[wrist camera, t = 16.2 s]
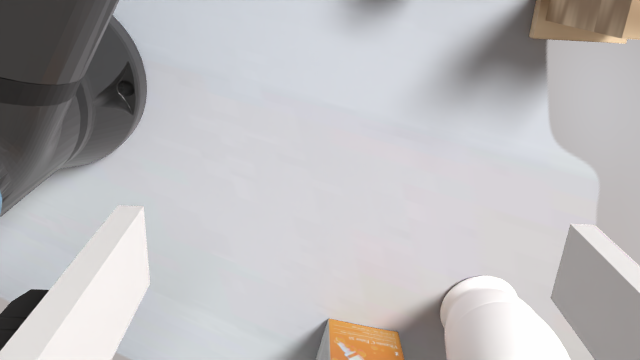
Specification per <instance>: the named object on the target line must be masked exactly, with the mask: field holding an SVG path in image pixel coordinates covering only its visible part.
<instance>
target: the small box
mask: <svg viewBox="0 0 640 360" xmlns="http://www.w3.org/2000/svg"><path fill="white" fill-rule="evenodd" d="M315 360H404V356H403V351H402V347H401V342H400V338H399V334H398V332H395V331H388V330H383V329H377V328H372V327H367V326H362V325H357V324H352V323H348V322H343V321H338V320H334V319H328V321H327V325H326V328H325V331H324V334H323V337H322V341H321V344H320V347H319V350H318V353H317V356H316V359H315Z"/></svg>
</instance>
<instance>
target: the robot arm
mask: <svg viewBox="0 0 640 360" xmlns="http://www.w3.org/2000/svg"><path fill="white" fill-rule="evenodd" d="M118 2H119V0H0V217H1V216H2V215H3V214H4V213H6V212H7V211H8V210H9V209H11V208H12V207H13V206H14V205H15V204H17V203H18V202H19V201H20V200H21V199H23V198H24V197H25V196H26V195H27V194H29V193H30V192H31V191H32V190H34V189H35V188H36V187H37V186H38V185H40V184H41V183H42V182H43V181H44V180H46V179H47V178H48V177H49V176H51V175H52V174H53V173H54V172H55V171H57V170H58V169H61V168H68V167H76V166H82V165H86V164H89V163H92V162H95V161H97V160H99V159H102V158H103V157H105V156H107V155H109V154H110V153H112V152H113V151H114V150H116V149H117V148H118V147H119V146H120V145H121V144H122V143H123V142H124V141H125V140H126V139H127V138H128V137H129V136H130V135H131V134H132V133H133V131H134V130H135V128H136V127H137V125H138V123H139V121H140V119H141V117H142V114H143V111H144V107H145V103H146V94H147V84H146V75H145V70H144V66H143V62H142V59H141V57H140V54H139V52H138V50H137V47H136V46H135V44H134V42H133V40H132V39H131V37H130V35H129V34H128V33H127V31H126V30H125V29H124V27H123V26H122V25H121V24H120V23H119V22H118V21H117V20H116V18H115V17H113V16H112V15H113V13H114V10H115V8H116V6H117V4H118ZM149 285H150V276H149V265H148V253H147V241H146V229H145V218H144V206H126V205H118V206H117V207H116V208H115V209H114V211H113V212H112V213H111V214H110V216H109V217H108V218H107V219H106V220H105V222H104V223H103V224H102V225H101V227H100V228H99V229H98V230H97V232H96V233H95V234H94V235H93V237H92V238H91V239H90V240H89V242H88V243H87V244H86V245H85V247H84V248H83V249H82V250H81V252H80V253H79V254H78V255H77V257H76V258H75V259H74V260H73V261H72V263H71V264H70V265H69V266H68V268H67V269H66V270H65V271H64V273H63V274H62V275H61V276H60V278H59V279H58V280H57V281H56V283H55V284H54V285H53V286H52V288H51V289H50V290H34V289H31V290H29V291H28V292H26V293H25V294H23V295H21V296H20V297H18V298H17V299H15V300H13V301H12V302H11V303H10V304H9V305H8V306H7V307H6V309H5V310H4V311H3V312H2V313H1V314H0V360H112V358H113V356H114V354H115V352H116V350H117V348H118V346H119V344H120V342H121V340H122V338H123V336H124V334H125V332H126V330H127V328H128V326H129V324H130V322H131V320H132V318H133V316H134V314H135V312H136V310H137V308H138V306H139V305H140V303H141V301H142V299H143V297H144V295H145V293H146V291H147V289H148V287H149ZM551 299H552V301H553V302H554V303H555V305H556V306H557V308H558V309H559V310H560V312H561V313H562V315H563V316H564V317H565V319H566V320H567V322H568V323H569V324H570V326H571V327H572V328H573V330H574V331H575V333H576V334H577V335H578V337H579V338H580V340H581V341H582V342H583V344H584V345H585V347H586V348H587V349H588V351H589V352H590V354H591V355H592V356H593V358H594V359H595V360H640V266H639V265H638V264H637V263H636V262H635V261H633V260H632V259H631V258H630V257H629V256H628V255H627V254H626V253H625V252H624V251H623V250H621V249H620V248H619V247H618V246H617V245H616V244H615V243H614V242H613V241H612V240H611V239H609V238H608V237H607V236H606V235H605V234H604V233H603V232H602V231H601V230H600V229H599V228H597V227H596V226H595V225H585V224H570V228H569V231H568V235H567V239H566V243H565V246H564V250H563V254H562V257H561V261H560V265H559V269H558V272H557V276H556V280H555V283H554V287H553V291H552V295H551Z"/></svg>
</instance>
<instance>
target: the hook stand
mask: <svg viewBox="0 0 640 360" xmlns="http://www.w3.org/2000/svg"><path fill="white" fill-rule="evenodd" d="M529 37H530V38H533V39H553V40H571V41H590V42H607V43H626V41H627V39H638V40H640V0H536V3H535V8H534V13H533V18H532V23H531V28H530V33H529Z"/></svg>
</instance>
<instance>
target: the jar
mask: <svg viewBox="0 0 640 360" xmlns="http://www.w3.org/2000/svg"><path fill="white" fill-rule="evenodd" d="M440 318H441V322H442V325H443V327H444V329H445V347H446V355H447V360H570V358H569V356H568V354H567V352H566V350H565V348H564V346H563V345H562V343H561V342H560V340H559V339H558V337H557V336H556V334H555V333H554V332H553V331H552V329H551V328H550V327H549V326H548V325H547V324H546V323H545V322H544V321H543V320H542V319H541V318H540V317H539V316H538V315H537V314H536V313H535V312H534V311H533V310H532V309H531V308H530V307H529V306H528V305H527V304H526V303H525V302H524V301H522V300H521V299H520V298H518V297H517V294H516V292H515V290H514V289H513V288H512V286H511V285H509V284H508V283H507V282H506V281H504V280H502V279H500V278H497V277H493V276H476V277H472V278H469V279H466V280H464V281H462V282H460V283H458V284H457V285H456V286H454V287H453V288H452V289H451V290H450V291H449V292H448V293H447V295H446V296H445V298H444V300H443V302H442V305H441V309H440Z"/></svg>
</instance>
